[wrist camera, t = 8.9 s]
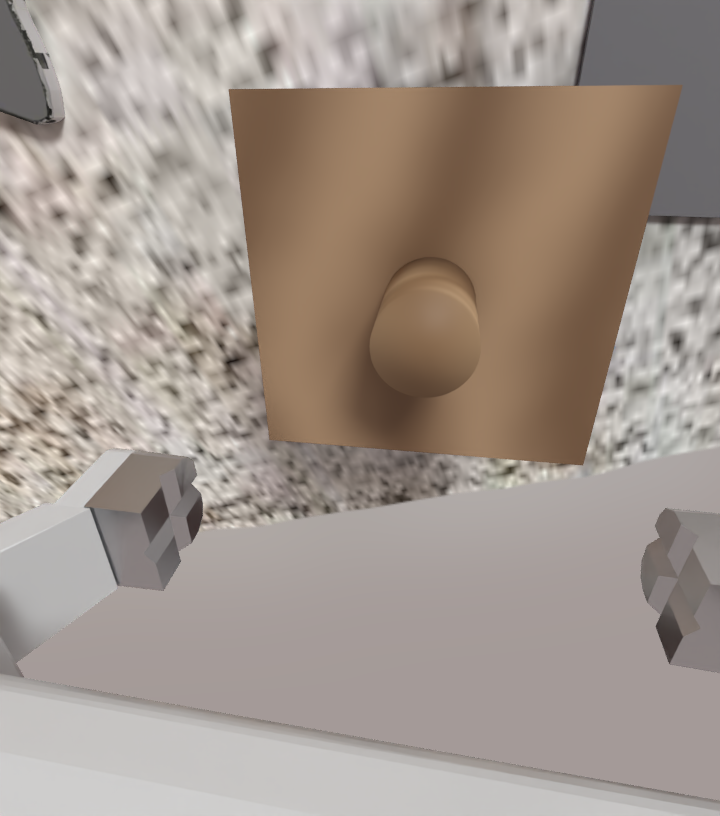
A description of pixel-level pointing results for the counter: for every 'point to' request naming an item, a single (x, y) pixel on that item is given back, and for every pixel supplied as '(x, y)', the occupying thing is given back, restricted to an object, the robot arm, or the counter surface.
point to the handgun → (26, 69)
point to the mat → (667, 65)
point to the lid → (444, 258)
